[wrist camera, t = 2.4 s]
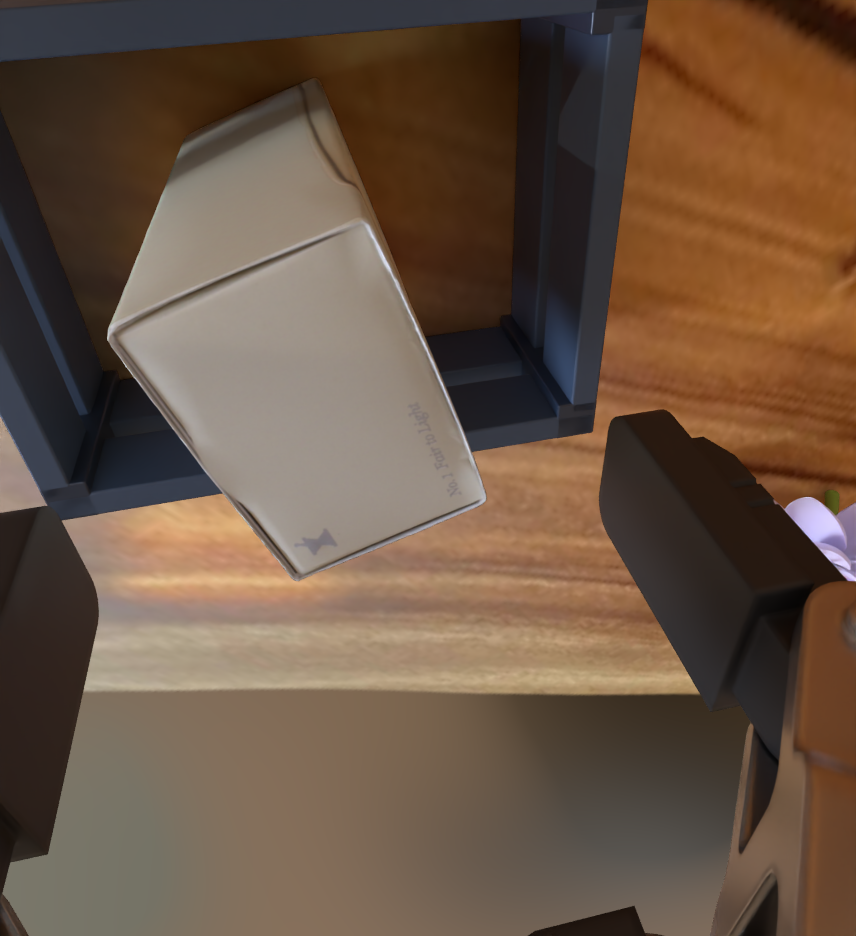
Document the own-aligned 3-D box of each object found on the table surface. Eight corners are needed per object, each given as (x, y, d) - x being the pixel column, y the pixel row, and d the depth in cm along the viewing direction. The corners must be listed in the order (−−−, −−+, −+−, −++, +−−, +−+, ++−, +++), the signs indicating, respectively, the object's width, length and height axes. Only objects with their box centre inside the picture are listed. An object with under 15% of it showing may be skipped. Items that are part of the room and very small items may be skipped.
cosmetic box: (397, 267, 23) (503, 508, 13) (275, 321, 23) (296, 594, 14) (313, 63, 19) (382, 208, 9) (166, 132, 19) (92, 337, 10)
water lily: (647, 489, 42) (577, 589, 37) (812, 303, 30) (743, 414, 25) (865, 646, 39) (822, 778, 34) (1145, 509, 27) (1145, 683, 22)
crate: (91, 404, 24) (55, 522, 19) (-82, -7, 16) (-210, 23, 12) (530, 340, 26) (593, 432, 21) (551, -51, 18) (654, -40, 14)
